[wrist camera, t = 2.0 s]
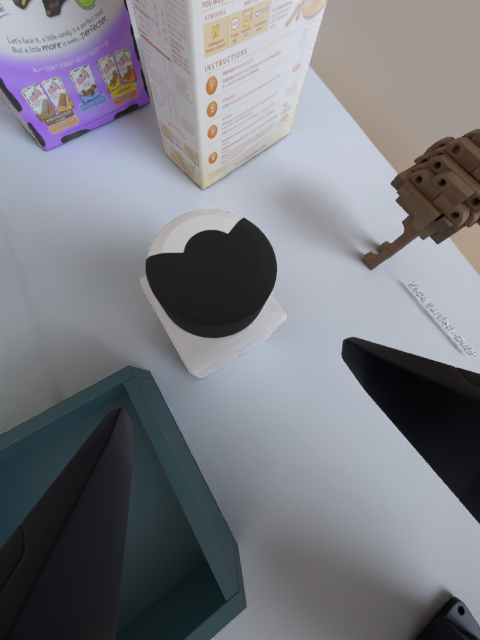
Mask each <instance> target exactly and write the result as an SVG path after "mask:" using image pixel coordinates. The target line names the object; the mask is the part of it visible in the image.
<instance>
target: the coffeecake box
mask: <svg viewBox="0 0 480 640" xmlns="http://www.w3.org/2000/svg"><path fill="white" fill-rule="evenodd" d="M131 1H132V5H133V10H134V13H135V19H136V23H137V28H138V32H139V37H140V42H141V46H142V51H143V55H144V60H145V65H146V69H147V74H148V78H149V83H150V87H151V91H152V96H153V101H154V105H155V109H156V114H157V118H158V123H159V128H160V132H161V137H162V141H163V145H164V149H165V154H166V155H167V156H168V157H169V158H170V159H171V160H172V161H173V162H174V163H175V164H176V165H177V166H179V167H180V168H181V169H182V170H183V171H184V172H185V173H186V174H187V175H188V176H189V177H190V178H191V179H192V180H193V181H194V182H195V183H196V184H197V185H198V186H199V187H200V188H202V189H203V190H204V189H206V188H207V187H209V186H210V185H212V184H213V183H215V182H216V181H218V180H219V179H221V178H222V177H224V176H226V175H227V174H229V173H230V172H231V171H233V170H235V169H236V168H238V167H239V166H241V165H242V164H244V163H245V162H247V161H248V160H250V159H251V158H253V157H254V156H256V155H257V154H259V153H260V152H262V151H263V150H265V149H266V148H268V147H269V146H271V145H272V144H274V143H276V142H277V141H279V140H280V139H282V138H283V137H285V136H286V135H288V134H289V133H290V132H291V128H292V124H293V120H294V117H295V113H296V109H297V106H298V102H299V99H300V95H301V92H302V88H303V85H304V81H305V77H306V74H307V70H308V67H309V63H310V59H311V56H312V52H313V49H314V45H315V42H316V38H317V35H318V31H319V28H320V24H321V21H322V17H323V13H324V10H325V6H326V3H327V0H131Z"/></svg>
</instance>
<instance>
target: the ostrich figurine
mask: <svg viewBox="0 0 480 640" xmlns="http://www.w3.org/2000/svg"><path fill="white" fill-rule="evenodd" d="M414 162H415V163H416V165H414V166H412V167H410V168H409V169H407V170H405V171H403V172H402V173H400V174H398V175H397V176H396V178H395V179H394V180H393V181H392V182H391V185H392V186H393V187H394V188H395V189H396V190H397V193H398V194H399V195H400V196H399V197H398V198H397V199H396V200H395V201H396V202H397V203H398V204H399V205H400V206H401V207H402V208H403V209H404V210H405V211H406V212H407V213H408V214H409V216H408V217H407V218H406V219H405V220H403V221H402V224H403V225H404V233H403V234H402V235H401V236H400V237H398V238H397V239H396V240H395V241H394V242H392V243H389V242H387V241H386V242H384V243H383V244H381V245H380V246H379V247H378V248H377V249H378V250H379V251H380V252H381V253H379V254H374V253H373V252H371V251H370V252H369V253H367V254H366V255H365V256H364V257H363V258H362V260H363V261H364V262H365V263H366V265H367V266H368V267H369V268H370V269H371V270H372V269H374V268H375V267H377V266H378V265H379V264H381V263H382V262H383V261H385V260H386V259H388V258H390V257H391V256H393V255H394V254H395V253H397V252H398V251H399V250H401V249H402V248H403V247H405V246H406V245H407V244H409V243H410V242H411V241H412V240H414V239H415V238H416V237H418V236H420V238H421V239H422V240H424V239H426V238H427V237H429V236H430V237H431V238H432V239H433V240H434V241H435V242H436V243H437V244H439V243H441V242H442V241H444V240H445V239H447V238H448V237H450V236H451V235H453V234H454V233H456V232H458V231H459V230H460V229H462V228H463V227H465V226H467V227H471V226H472V225H474V224H475V223H478V224H479V225H480V129H476V130H473V131H471V132H469V133H467V134H465V135H464V136H462V137H461V138H457V139H454V138H453V137H446V138H444V139H441V140H439V141H438V142H436V143H434V144H433V145H432V146H431V147H429V148H428V150H427V151H426V152H425V153H424V154H423V155H422V156H420V157H418V158H417V159H415V160H414ZM413 284H414V285H413ZM413 284H408V287H409V288H410V289H412V287H411V286H418V285H417V284H416V283H415V282H413ZM414 290H415V291H416V292H417V291H419V289H418V288H414V289H413V290H412V291H413V292H414V293H415V291H414ZM418 294H421V295H418ZM423 295H425V293H424V294H422V293H421V292H417V293H416V296H418V297H421V296H423ZM422 299H423V300H422ZM420 300H421V301H422V303H423V302H424V301H425V300H427V298H426V297H423V298H420ZM431 304H432V305H431ZM425 306H426V307H427V308H428V309H430V308H431V307H434V306H435V305H434V304H433V302H432V303H429V304H427V305H425ZM429 306H430V307H429ZM436 311H437V309H435V308H433V309H430V312H432V314H433V313H434V312H436ZM433 315H439V316H438V317H437V318H436V319H437V320H438V319H439V318H440V317H441V318H443V319H440V320H438V321H442V320H445V319H447V318H444V317H443V315H441V314H440V313H439V312H438V313H435V314H433ZM443 323H444V324H445V325H448V322H447V321H442V323H441V324H442V325H443V326H445V325H444V324H443ZM451 326H452V325H448V326H446V327H445V329H448V327H450V328H451V329H448V330H447V331H448V332H450V330H452V333H453V334H454V336H456V334H455V333H454V332H453V331H454V328H452V327H451ZM460 337H461V338H462V340H461V341H460V340H458V339H457V338H460ZM454 339H455V340H456V341H457V342H463V341H465V339H464V337H463V336H462V335H461V336H457V337H454ZM462 344H466V342H464V343H460V344H459V345H460V346H461V347H462V348H464V347H468V345H465V346H463V345H462ZM472 349H473V347H469V348H464V350H470V351H466V353H468V355H474V356H477V355H476V354H475V353H469V352H472V351H473V350H472Z"/></svg>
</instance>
